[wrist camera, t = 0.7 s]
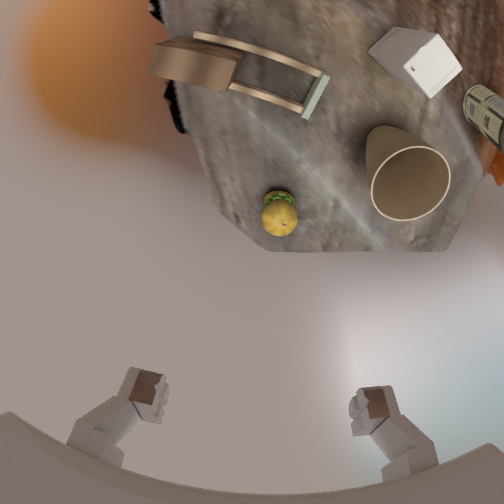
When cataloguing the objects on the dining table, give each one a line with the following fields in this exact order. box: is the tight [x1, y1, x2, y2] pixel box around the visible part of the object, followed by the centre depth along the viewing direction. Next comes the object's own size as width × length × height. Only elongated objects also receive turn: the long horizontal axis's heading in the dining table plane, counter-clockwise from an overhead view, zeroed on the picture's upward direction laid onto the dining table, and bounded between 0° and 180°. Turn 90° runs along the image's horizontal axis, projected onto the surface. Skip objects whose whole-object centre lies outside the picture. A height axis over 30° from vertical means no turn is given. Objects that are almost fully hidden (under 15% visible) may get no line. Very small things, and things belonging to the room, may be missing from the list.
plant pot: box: [366, 125, 450, 221], centre depth 41 cm, size 15×15×16 cm
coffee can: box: [463, 85, 504, 155], centre depth 29 cm, size 10×10×14 cm
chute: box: [192, 31, 322, 113], centre depth 38 cm, size 22×9×2 cm, turn 71°
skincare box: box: [368, 27, 462, 99], centre depth 26 cm, size 8×7×16 cm
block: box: [148, 37, 245, 93], centre depth 33 cm, size 12×5×11 cm, turn 71°
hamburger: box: [261, 191, 298, 236], centre depth 56 cm, size 8×7×12 cm
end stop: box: [301, 70, 330, 119], centre depth 39 cm, size 1×9×4 cm, turn 161°
